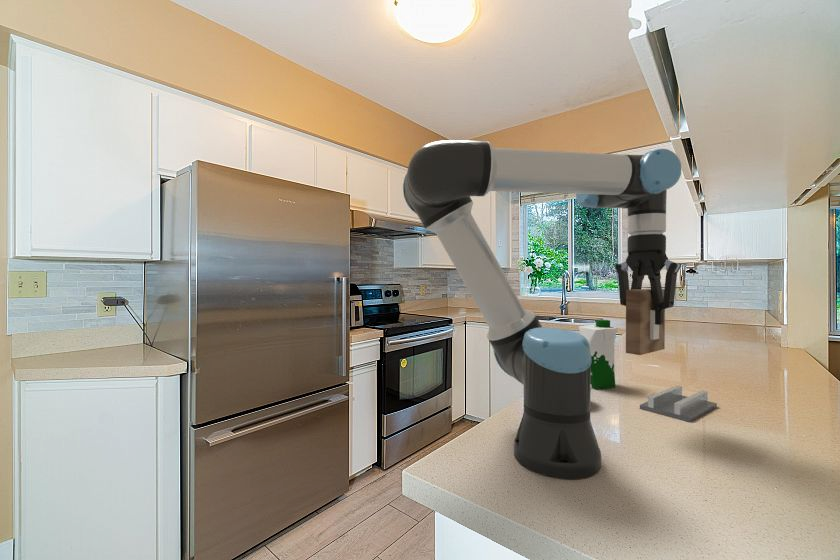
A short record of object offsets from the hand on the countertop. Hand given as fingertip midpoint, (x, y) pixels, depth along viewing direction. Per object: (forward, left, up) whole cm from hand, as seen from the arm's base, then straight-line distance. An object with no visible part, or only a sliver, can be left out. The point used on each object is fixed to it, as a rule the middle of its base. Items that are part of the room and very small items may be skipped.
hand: (645, 337), depth 87 cm
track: (+18, 0, -20) cm, 26 cm away
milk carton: (+20, +23, -20) cm, 36 cm away
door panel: (0, 0, -3) cm, 3 cm away
